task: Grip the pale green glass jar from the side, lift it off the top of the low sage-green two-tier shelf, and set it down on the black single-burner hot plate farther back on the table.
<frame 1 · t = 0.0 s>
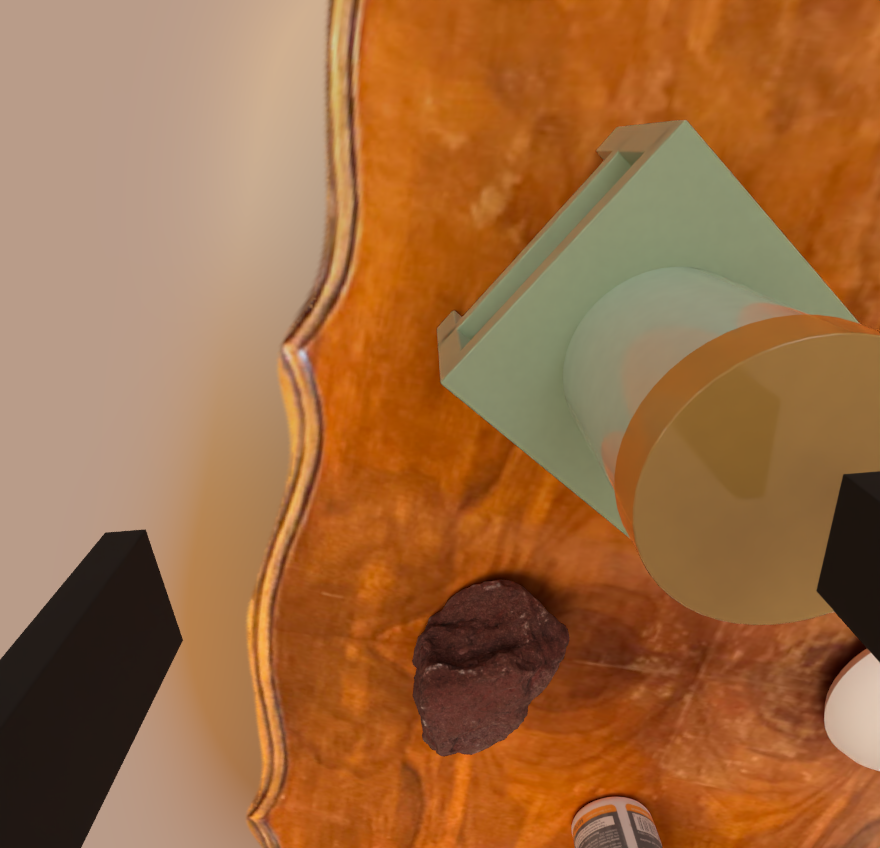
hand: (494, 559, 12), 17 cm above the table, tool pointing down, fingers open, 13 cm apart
pill bottle: (609, 815, 43), on the table
rock: (481, 641, 36), on the table
shelf: (606, 317, 27), on the table
jar: (662, 368, 21), point 7 cm above the table, touching shelf
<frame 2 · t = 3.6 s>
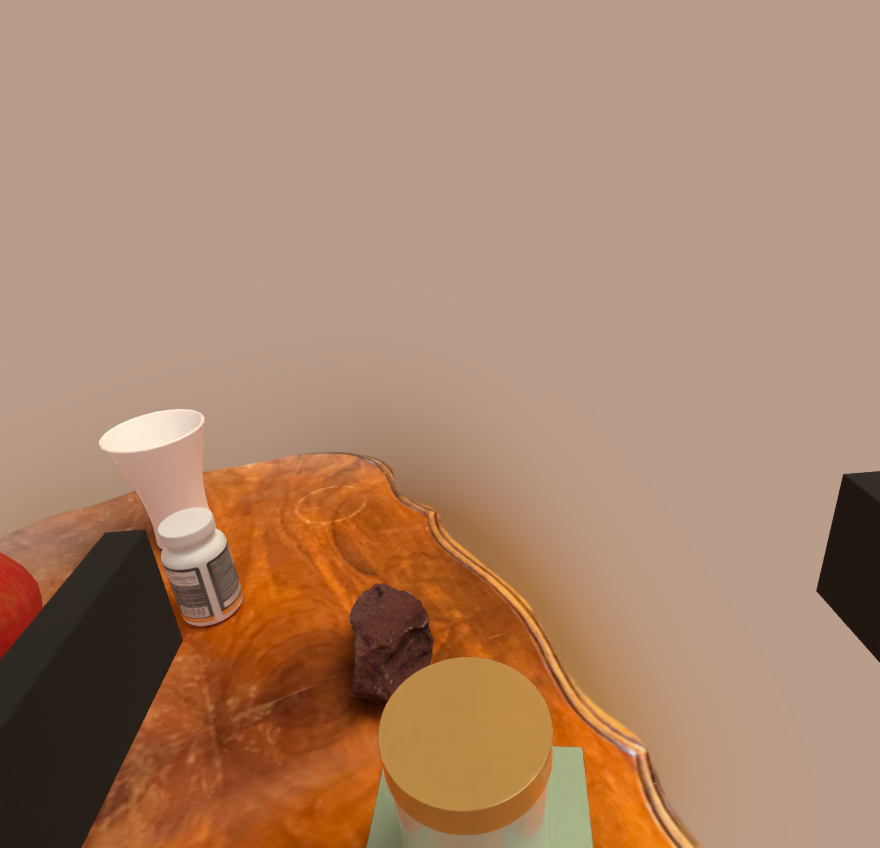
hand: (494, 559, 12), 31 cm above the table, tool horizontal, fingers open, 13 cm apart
pill bottle: (214, 609, 58), on the table
cup: (187, 535, 70), on the table
rock: (386, 661, 50), on the table
apple: (7, 646, 56), on the table
jar: (477, 845, 29), point 7 cm above the table, touching shelf
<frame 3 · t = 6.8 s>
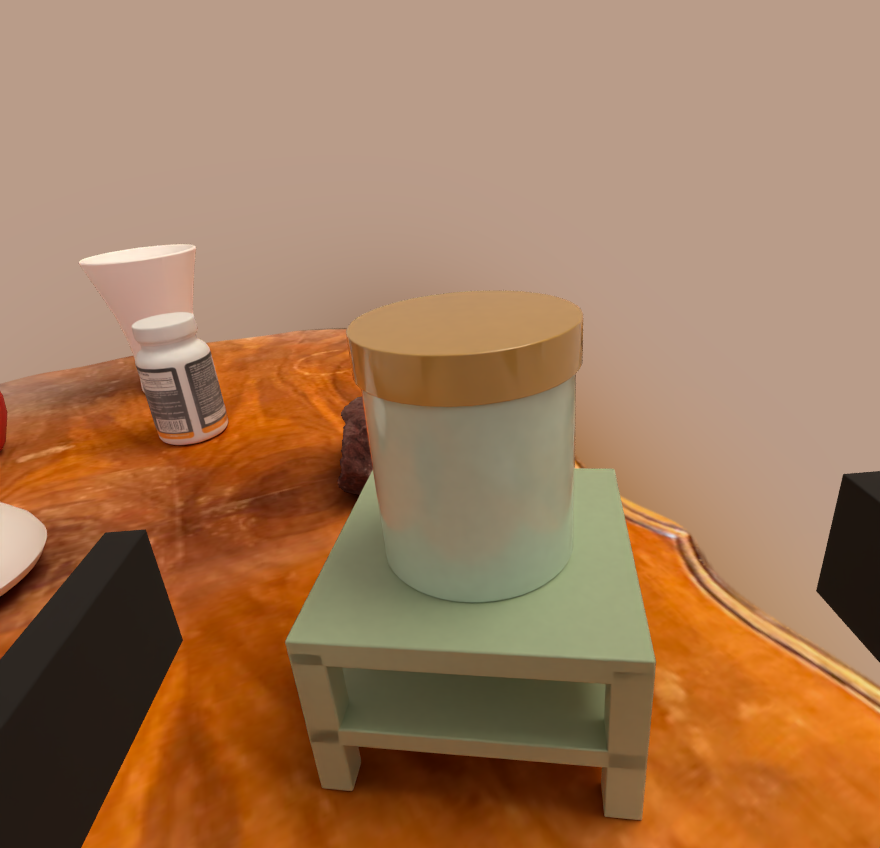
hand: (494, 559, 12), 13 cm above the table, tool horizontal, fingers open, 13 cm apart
pill bottle: (195, 434, 52), on the table
cup: (176, 385, 64), on the table
rock: (381, 470, 43), on the table
shelf: (487, 676, 26), on the table
jar: (478, 539, 23), point 7 cm above the table, touching shelf
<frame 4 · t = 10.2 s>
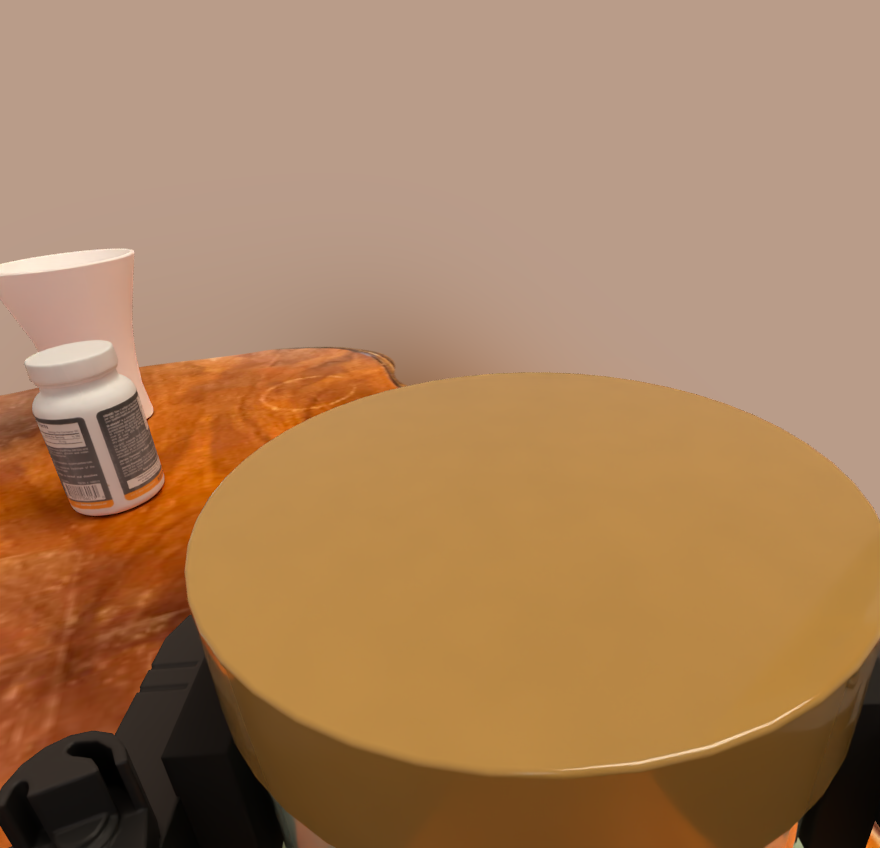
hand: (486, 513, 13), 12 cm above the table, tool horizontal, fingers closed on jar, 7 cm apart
pill bottle: (121, 498, 40), on the table
cup: (114, 422, 52), on the table
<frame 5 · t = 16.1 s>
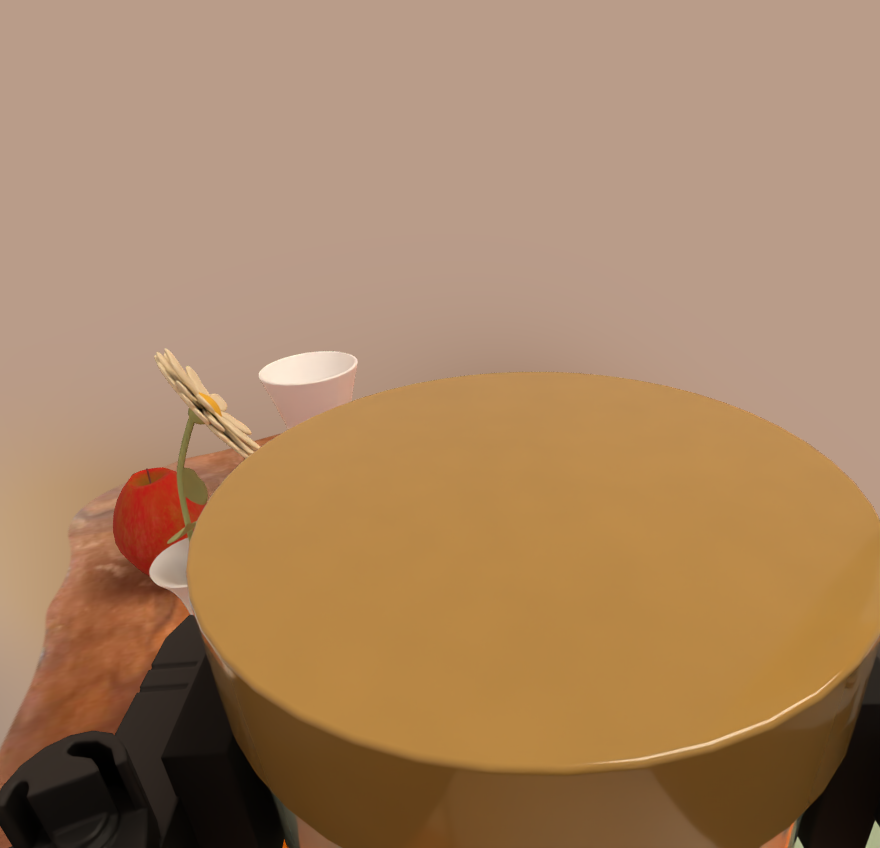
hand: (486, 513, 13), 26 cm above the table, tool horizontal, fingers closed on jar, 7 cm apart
flower in vase: (251, 719, 41), on the table
cup: (328, 478, 70), on the table
apple: (179, 570, 56), on the table
shelf: (769, 823, 32), on the table
when the fingers open (7 cm above the table, at t = 22.1 s): jar stays where it is, resting on hot plate.
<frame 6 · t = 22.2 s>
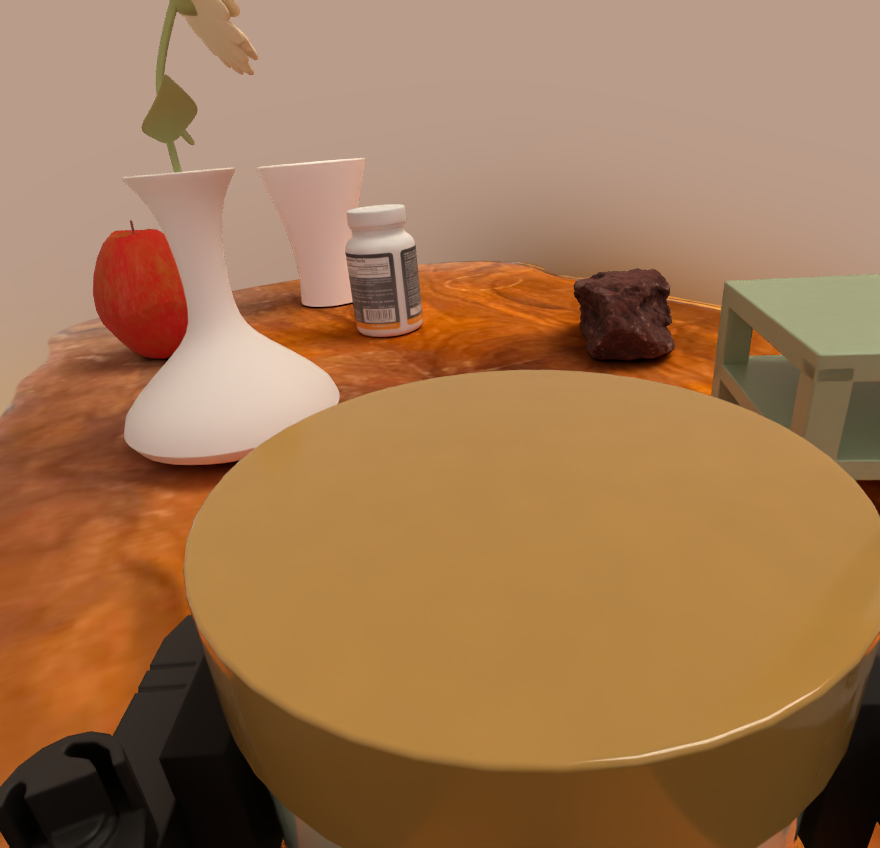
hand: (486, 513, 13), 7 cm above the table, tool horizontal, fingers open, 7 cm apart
pill bottle: (390, 331, 52), on the table
flower in vase: (246, 433, 35), on the table
cup: (333, 302, 64), on the table
rock: (611, 346, 44), on the table
apple: (168, 356, 51), on the table
shelf: (876, 464, 26), on the table
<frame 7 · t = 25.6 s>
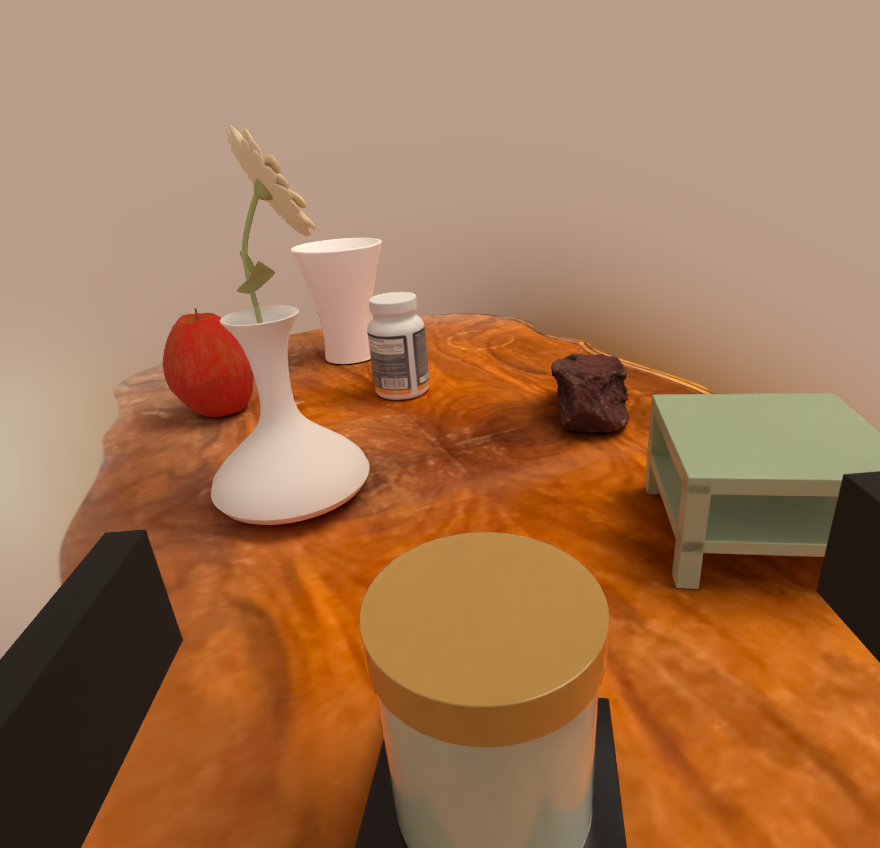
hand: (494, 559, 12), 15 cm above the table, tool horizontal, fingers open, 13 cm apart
hot plate: (494, 820, 22), on the table
pill bottle: (402, 393, 63), on the table
flower in vase: (297, 492, 46), on the table
cup: (352, 357, 75), on the table
rock: (580, 416, 55), on the table
apple: (220, 413, 62), on the table
shelf: (751, 533, 37), on the table
jar: (491, 788, 22), point 2 cm above the table, touching hot plate
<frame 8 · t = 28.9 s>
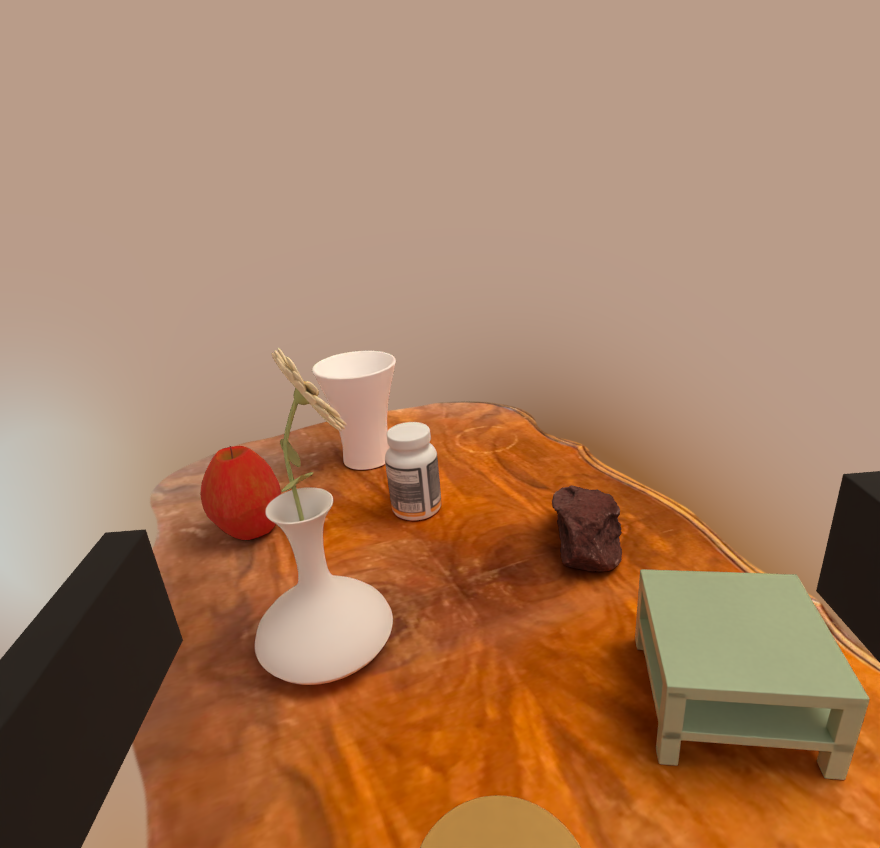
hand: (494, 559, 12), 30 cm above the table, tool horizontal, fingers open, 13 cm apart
pill bottle: (417, 510, 69), on the table
flower in vase: (328, 637, 52), on the table
cup: (367, 460, 81), on the table
rock: (578, 546, 61), on the table
apple: (251, 532, 68), on the table
shelf: (725, 699, 43), on the table
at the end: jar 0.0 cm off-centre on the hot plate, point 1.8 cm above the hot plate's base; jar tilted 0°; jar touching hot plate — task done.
